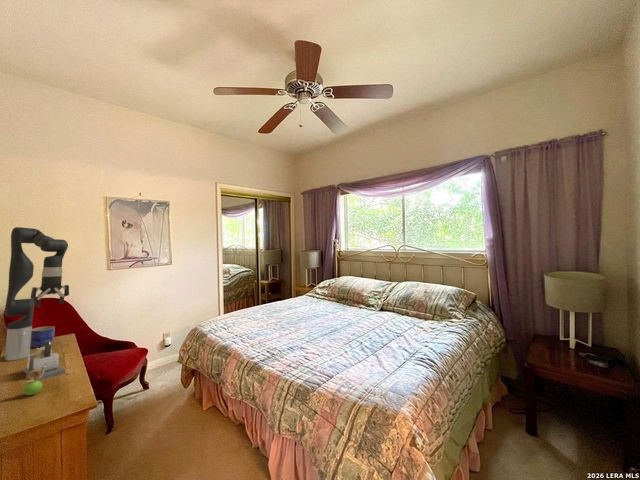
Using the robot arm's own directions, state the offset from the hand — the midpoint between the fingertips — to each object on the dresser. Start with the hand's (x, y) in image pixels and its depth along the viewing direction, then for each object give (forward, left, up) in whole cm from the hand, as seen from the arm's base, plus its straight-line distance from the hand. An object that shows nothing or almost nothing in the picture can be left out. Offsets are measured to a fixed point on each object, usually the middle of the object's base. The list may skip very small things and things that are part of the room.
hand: (49, 305), depth 137 cm
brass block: (+8, -3, -31) cm, 32 cm away
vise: (+10, -3, -32) cm, 34 cm away
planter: (-42, +9, -32) cm, 54 cm away
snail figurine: (+34, -12, -32) cm, 48 cm away
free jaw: (+12, -3, -30) cm, 33 cm away
